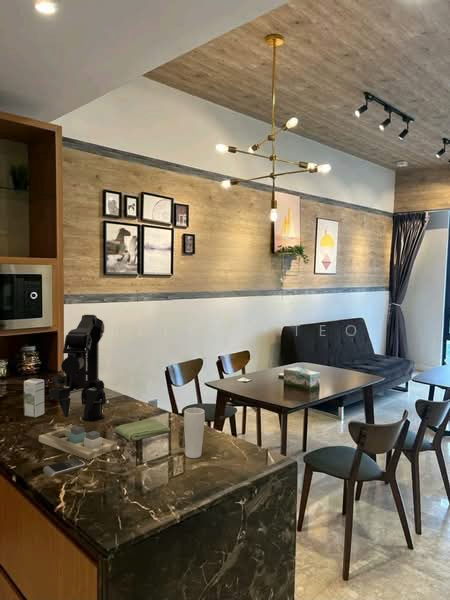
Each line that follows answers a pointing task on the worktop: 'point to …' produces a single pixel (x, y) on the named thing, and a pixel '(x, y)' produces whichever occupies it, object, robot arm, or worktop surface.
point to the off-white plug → (92, 440)
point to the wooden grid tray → (73, 448)
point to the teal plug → (77, 434)
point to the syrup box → (33, 397)
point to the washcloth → (141, 429)
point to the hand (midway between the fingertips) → (77, 413)
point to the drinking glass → (193, 431)
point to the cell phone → (63, 467)
